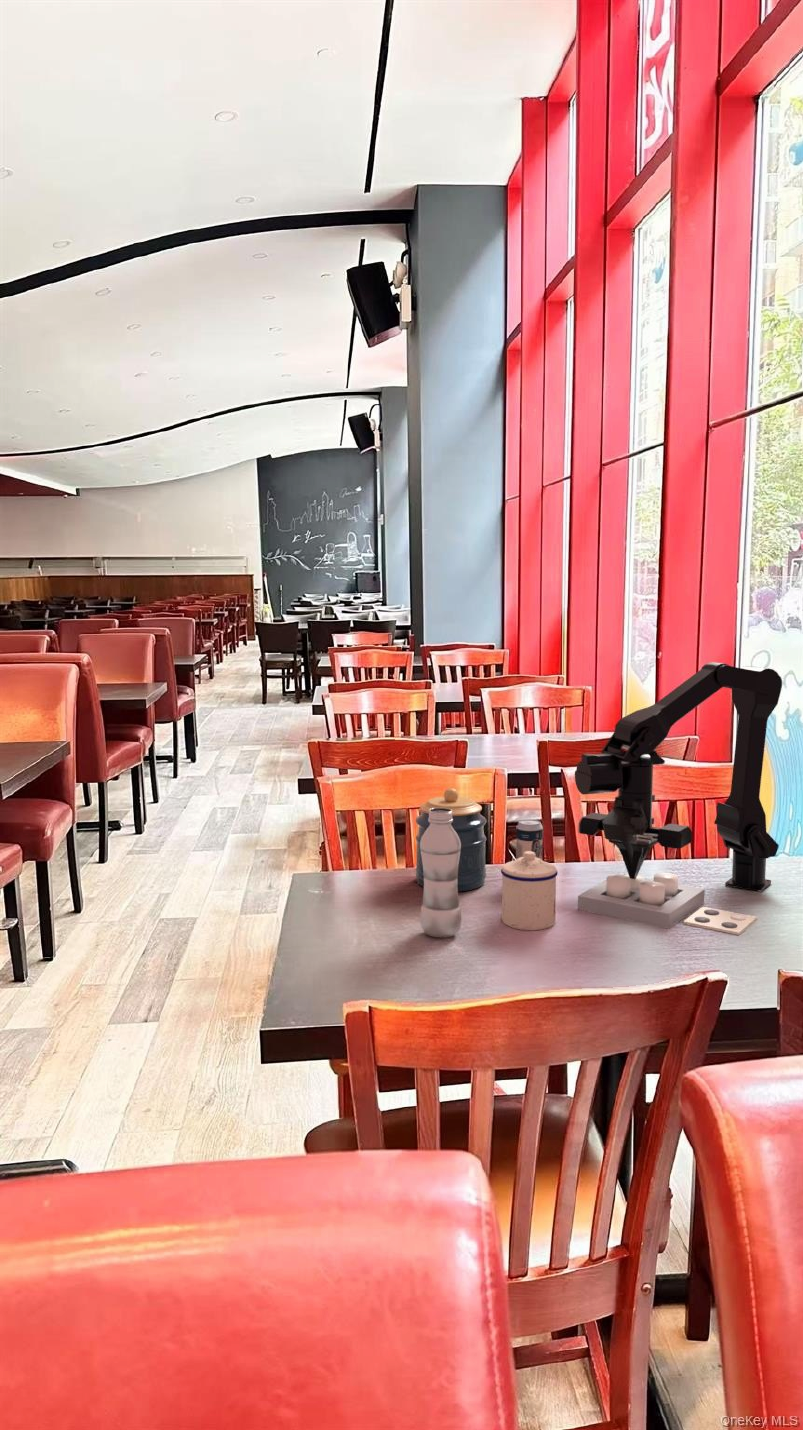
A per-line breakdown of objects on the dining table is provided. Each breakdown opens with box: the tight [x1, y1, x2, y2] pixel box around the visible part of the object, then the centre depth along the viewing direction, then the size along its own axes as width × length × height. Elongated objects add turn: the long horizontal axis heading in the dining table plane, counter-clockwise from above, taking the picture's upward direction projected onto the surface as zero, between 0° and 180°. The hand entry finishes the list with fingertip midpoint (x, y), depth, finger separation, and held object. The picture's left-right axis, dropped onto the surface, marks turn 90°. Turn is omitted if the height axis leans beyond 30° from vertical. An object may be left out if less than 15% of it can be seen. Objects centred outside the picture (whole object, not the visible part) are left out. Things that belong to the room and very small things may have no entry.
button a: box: [624, 874, 645, 891], centre depth 173 cm, size 4×4×3 cm
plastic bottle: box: [419, 808, 463, 938], centre depth 155 cm, size 6×7×20 cm
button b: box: [653, 872, 679, 897], centre depth 170 cm, size 4×4×3 cm
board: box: [577, 873, 706, 929], centre depth 169 cm, size 16×16×2 cm
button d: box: [639, 881, 665, 906], centre depth 165 cm, size 4×4×3 cm
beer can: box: [515, 819, 544, 860], centre depth 180 cm, size 5×5×12 cm
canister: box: [415, 787, 487, 892], centre depth 182 cm, size 13×13×18 cm
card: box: [682, 906, 758, 936], centre depth 161 cm, size 9×9×1 cm
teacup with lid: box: [500, 851, 559, 931], centre depth 162 cm, size 12×9×12 cm
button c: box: [605, 874, 631, 899], centre depth 168 cm, size 4×4×3 cm
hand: (632, 878), depth 173 cm, fingers closed, pressing on button a
